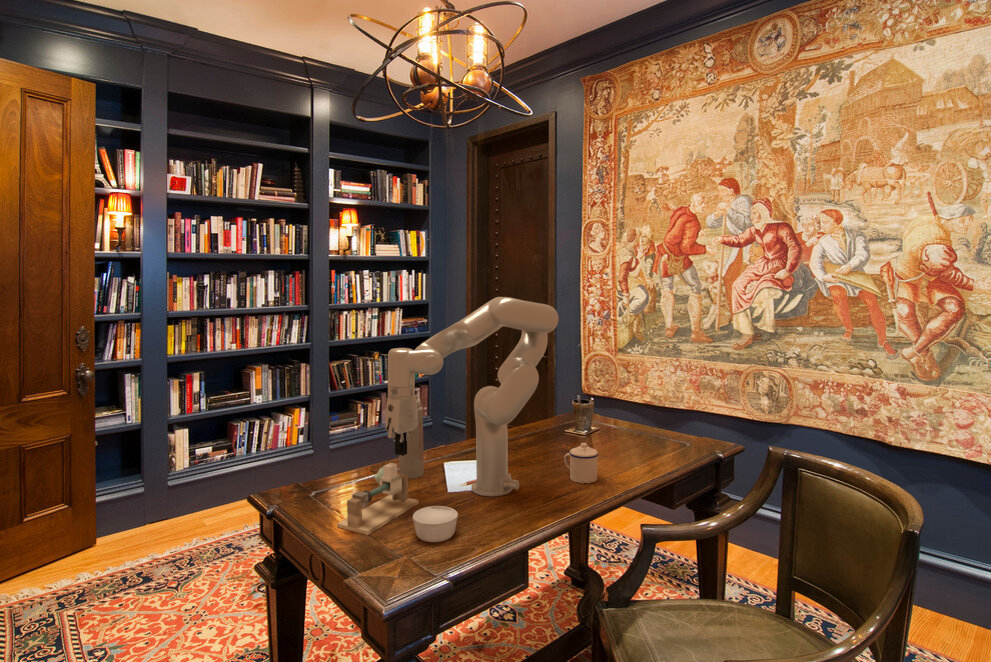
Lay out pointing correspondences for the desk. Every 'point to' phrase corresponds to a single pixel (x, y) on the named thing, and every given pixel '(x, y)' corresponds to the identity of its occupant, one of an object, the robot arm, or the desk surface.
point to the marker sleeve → (391, 479)
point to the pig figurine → (379, 475)
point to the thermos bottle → (414, 449)
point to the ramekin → (435, 523)
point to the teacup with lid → (582, 464)
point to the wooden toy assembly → (376, 508)
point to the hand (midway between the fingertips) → (401, 454)
